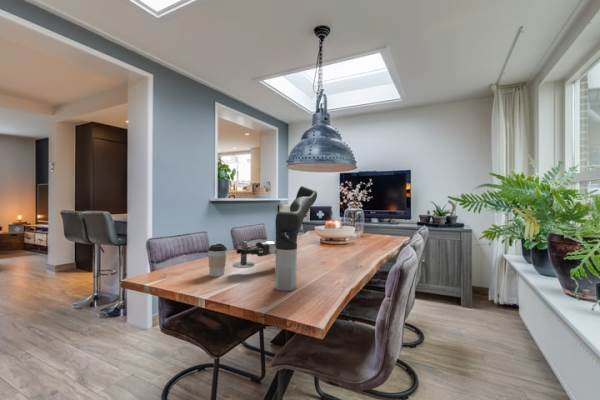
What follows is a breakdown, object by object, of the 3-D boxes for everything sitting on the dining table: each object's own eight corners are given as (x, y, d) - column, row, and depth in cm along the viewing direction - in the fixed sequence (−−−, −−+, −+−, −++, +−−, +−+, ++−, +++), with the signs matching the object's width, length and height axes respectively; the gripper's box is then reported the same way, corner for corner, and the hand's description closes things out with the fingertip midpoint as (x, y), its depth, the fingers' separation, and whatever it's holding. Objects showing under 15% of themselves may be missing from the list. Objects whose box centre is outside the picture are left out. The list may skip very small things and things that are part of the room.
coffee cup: (223, 277, 140) (224, 246, 140) (204, 276, 140) (205, 245, 140) (228, 272, 149) (229, 243, 149) (210, 272, 149) (211, 243, 149)
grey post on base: (252, 268, 140) (252, 243, 140) (229, 267, 141) (230, 242, 141) (256, 263, 151) (257, 240, 151) (235, 262, 152) (236, 240, 152)
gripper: (257, 240, 161) (231, 242, 148) (274, 243, 152) (248, 246, 139) (257, 253, 161) (230, 257, 148) (274, 257, 152) (247, 261, 139)
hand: (239, 252), depth 144 cm, fingers closed on grey post on base, 3 cm apart
